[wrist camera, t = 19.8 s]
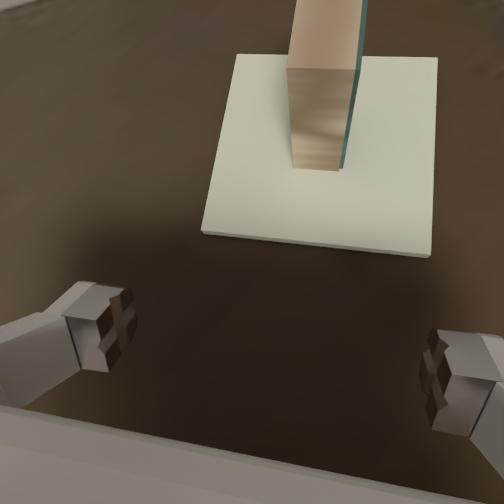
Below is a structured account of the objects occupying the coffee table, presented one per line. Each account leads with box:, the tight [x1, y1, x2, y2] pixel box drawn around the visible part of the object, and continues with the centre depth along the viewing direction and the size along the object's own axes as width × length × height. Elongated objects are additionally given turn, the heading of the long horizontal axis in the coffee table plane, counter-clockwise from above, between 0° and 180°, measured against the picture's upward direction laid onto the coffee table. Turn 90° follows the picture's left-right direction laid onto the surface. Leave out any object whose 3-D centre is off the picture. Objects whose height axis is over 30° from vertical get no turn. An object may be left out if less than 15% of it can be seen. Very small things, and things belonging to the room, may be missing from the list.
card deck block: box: [286, 0, 368, 172], centre depth 18 cm, size 3×4×8 cm
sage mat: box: [201, 54, 438, 258], centre depth 21 cm, size 12×12×1 cm
